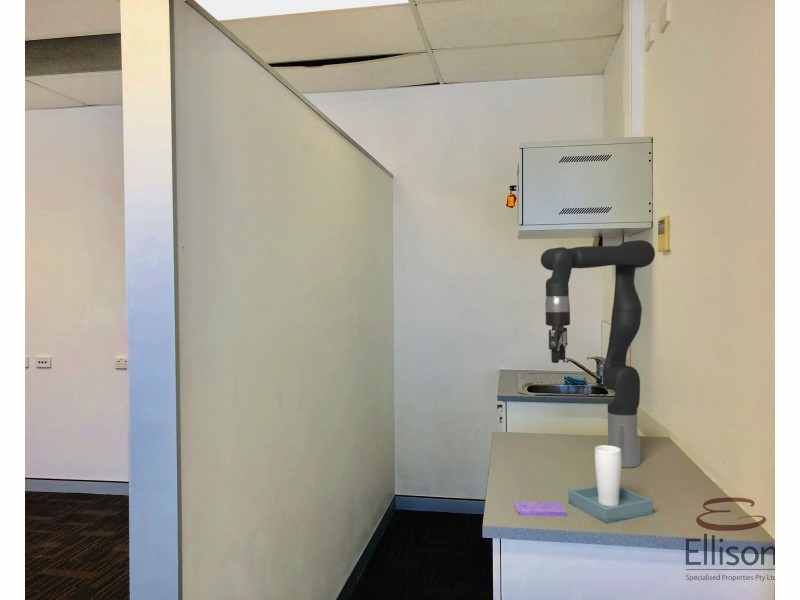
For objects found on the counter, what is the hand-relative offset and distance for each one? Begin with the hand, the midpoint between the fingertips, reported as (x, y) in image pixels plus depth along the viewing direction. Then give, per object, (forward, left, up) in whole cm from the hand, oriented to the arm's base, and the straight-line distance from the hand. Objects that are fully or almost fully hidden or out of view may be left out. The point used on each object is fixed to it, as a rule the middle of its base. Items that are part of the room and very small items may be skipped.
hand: (558, 361), depth 180 cm
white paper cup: (+6, +29, -35) cm, 46 cm away
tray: (+6, +29, -36) cm, 47 cm away
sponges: (+24, +23, -37) cm, 49 cm away
